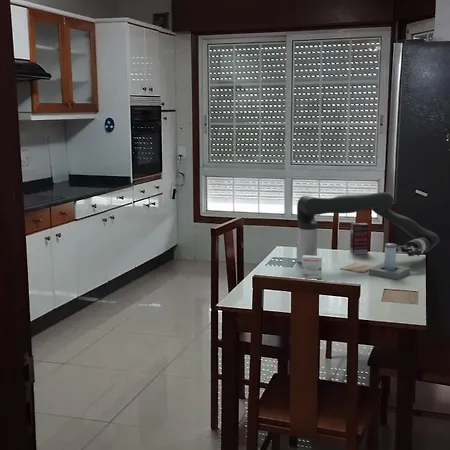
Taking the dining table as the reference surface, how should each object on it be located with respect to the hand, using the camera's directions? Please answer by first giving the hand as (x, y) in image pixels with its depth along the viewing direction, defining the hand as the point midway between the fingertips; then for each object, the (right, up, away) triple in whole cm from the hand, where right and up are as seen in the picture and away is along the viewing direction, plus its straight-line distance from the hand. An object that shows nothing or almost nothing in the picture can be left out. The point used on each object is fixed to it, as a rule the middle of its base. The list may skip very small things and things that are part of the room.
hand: (400, 252), depth 298 cm
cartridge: (-7, -9, -7) cm, 14 cm away
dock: (-7, -9, -7) cm, 14 cm away
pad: (-19, -8, +3) cm, 21 cm away
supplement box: (-12, -2, +35) cm, 38 cm away
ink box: (-45, -12, -20) cm, 51 cm away
